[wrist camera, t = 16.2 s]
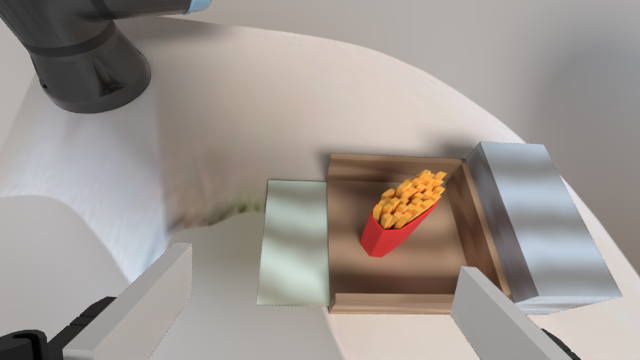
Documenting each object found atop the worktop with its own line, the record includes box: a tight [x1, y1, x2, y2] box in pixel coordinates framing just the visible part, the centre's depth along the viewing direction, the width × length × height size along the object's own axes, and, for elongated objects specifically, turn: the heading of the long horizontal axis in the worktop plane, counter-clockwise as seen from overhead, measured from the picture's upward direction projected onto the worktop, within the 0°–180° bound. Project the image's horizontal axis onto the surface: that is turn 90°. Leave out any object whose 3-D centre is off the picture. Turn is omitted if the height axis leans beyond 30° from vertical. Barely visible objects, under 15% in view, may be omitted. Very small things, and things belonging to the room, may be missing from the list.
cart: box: [256, 142, 623, 315], centre depth 35 cm, size 18×34×10 cm, turn 90°
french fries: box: [360, 170, 447, 258], centre depth 33 cm, size 8×4×12 cm, turn 125°
